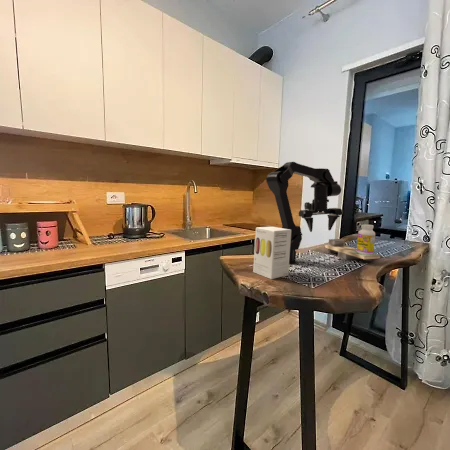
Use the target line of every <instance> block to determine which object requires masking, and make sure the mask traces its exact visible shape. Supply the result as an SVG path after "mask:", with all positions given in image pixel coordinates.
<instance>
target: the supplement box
mask: <svg viewBox="0 0 450 450" xmlns="http://www.w3.org/2000/svg"><path fill="white" fill-rule="evenodd" d="M254 235H255V236H254V248H253V249H254V251H253V267H252V268H253V273H255V274H257V275H259V276H262V277H265V278H268V279H270V280H273V279H277V278H281V277H285V276H289V269H290V267H289V266H290V264H289V257H290V243H291V230H290V229H284V228H282V227H277V226H260V227H258V226H257V227H255V234H254Z"/></svg>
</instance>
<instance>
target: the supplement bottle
mask: <svg viewBox="0 0 450 450" xmlns="http://www.w3.org/2000/svg"><path fill="white" fill-rule="evenodd" d="M373 229H374V225H373V224H366V223H364V224H361V229H359V230H358V232H357V241H356V249H357V250H356V252H357V253H359V254H364V255H372V254H373V253H374V249H375V240H376V232H375V231H374V230H373Z"/></svg>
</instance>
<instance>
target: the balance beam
mask: <svg viewBox="0 0 450 450" xmlns="http://www.w3.org/2000/svg"><path fill="white" fill-rule="evenodd" d="M344 243H345V240H344V239H339V238H332V239H331V238H330V239H328V244H325V246H324V247H325V249H327V253H328V254H337V258H338V259H339V258H340V259H342V260H345V261H348V260H359V259H361V260H362V259H363V260H371V259H374V260H376V259H381V254H377V253H375V252H373V254H372V255H364V254H359V253H357V252H356V250H357V248H354V247H350V246H347V245H344Z"/></svg>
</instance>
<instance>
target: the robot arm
mask: <svg viewBox="0 0 450 450" xmlns="http://www.w3.org/2000/svg"><path fill="white" fill-rule="evenodd" d="M294 174H295V175H299V176H302V177H306V178H309V181H312V182H313V183H312V184H311V186H310V188H311V189H313V199H312V200H311V203H310V201H309V202H304V204H303V206H304V209H300V210H299V211H298V217H301V218H302V219H304V220H305V222H306V225H307V227H308V230H309V232H310V233H312V232H313V228H314V227H313V226H314V217H313V216H320V215H327V218H328V221H327V222H328V223H327V227H328V231H329V232H330V231H331V230H332V229H333V226H334V224H335V223H336V221H337V220H338V218H340V217H341V216H342V215H343V211H344V210H343V209H342V208H341V207H340V208H338V207H329V208H328V203H330V199H328V197H337V196H340V194H341V193H342V188H341V185H340V184H339V183H338V180H337V181H336V180H334V177H333V176H332V173H331V171H330V169H328V168H324V167H323V168H320V167H319V168H314V167H310V166H308V165H304V164H301V163H298V162H296V161H289V162H288V161H287V162H285V163H284V164H283V165H282V166H280V167H278V168H276V169H275V170H273V171H272V172H269V173H268V174H267V175H266V181H265V182H266V183H267V187H268V189H269V190H270V191H271V193H272V194H273V195H274V198H275V202H276V205H277V210H278V214H279V218H280V221H281V226H282V227H281V228H284V229H290V230H291V243H290V257H289V265H291V264H292V265H293V264H297V258H296V257H297V250H299V249H300V245H301V243H302V239H303V233H302V228H301V226H299V225H296V224H295V222H294V218H293V213H292V209H291V205H290V199H289V198H288V197H289V196H288V193H287V191H288V188H289V180H290V179H291V178H292V177H293V175H294Z"/></svg>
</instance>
